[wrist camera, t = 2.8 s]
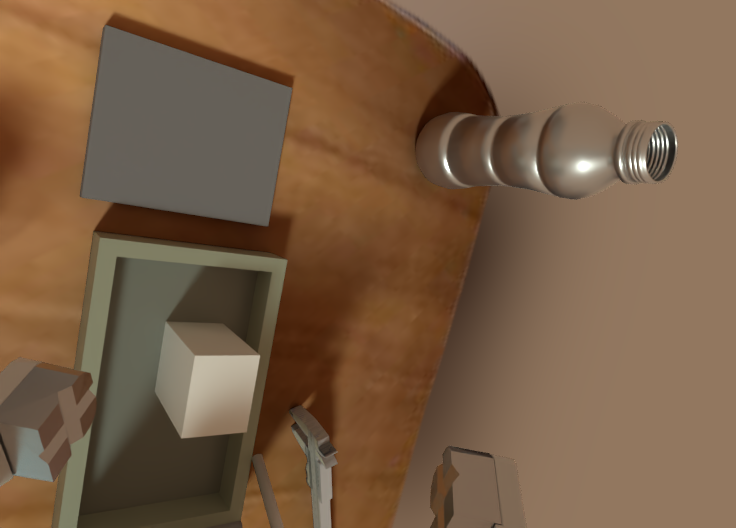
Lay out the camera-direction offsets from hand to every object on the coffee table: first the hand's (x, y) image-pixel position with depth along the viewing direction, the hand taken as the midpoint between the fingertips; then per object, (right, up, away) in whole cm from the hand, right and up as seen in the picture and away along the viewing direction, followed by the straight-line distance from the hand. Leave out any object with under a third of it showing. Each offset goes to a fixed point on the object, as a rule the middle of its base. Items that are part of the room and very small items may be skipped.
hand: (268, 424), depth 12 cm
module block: (-10, -3, +24) cm, 27 cm away
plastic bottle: (+8, +14, +34) cm, 38 cm away
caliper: (-3, -18, +34) cm, 39 cm away
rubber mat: (-9, +12, +22) cm, 27 cm away
